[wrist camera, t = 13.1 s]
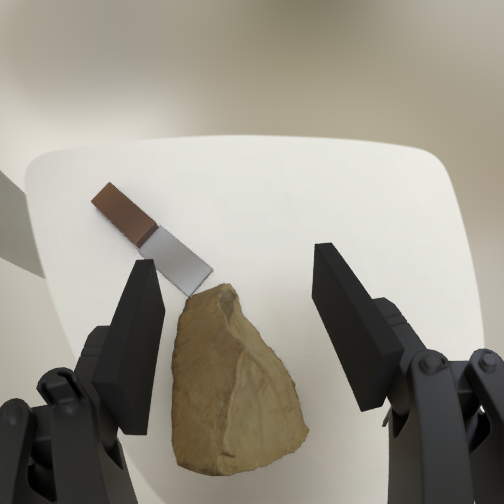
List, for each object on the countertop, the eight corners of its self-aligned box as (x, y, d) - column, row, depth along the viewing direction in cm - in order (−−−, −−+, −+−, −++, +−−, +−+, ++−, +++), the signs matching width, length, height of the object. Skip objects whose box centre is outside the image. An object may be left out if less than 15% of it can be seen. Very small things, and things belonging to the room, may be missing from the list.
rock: (148, 262, 18) (118, 429, 14) (236, 207, 12) (199, 485, 8) (278, 310, 24) (265, 438, 20) (378, 287, 18) (371, 454, 14)
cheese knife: (94, 210, 21) (88, 203, 20) (116, 187, 22) (111, 179, 21) (189, 297, 20) (186, 294, 19) (213, 269, 21) (211, 265, 19)
